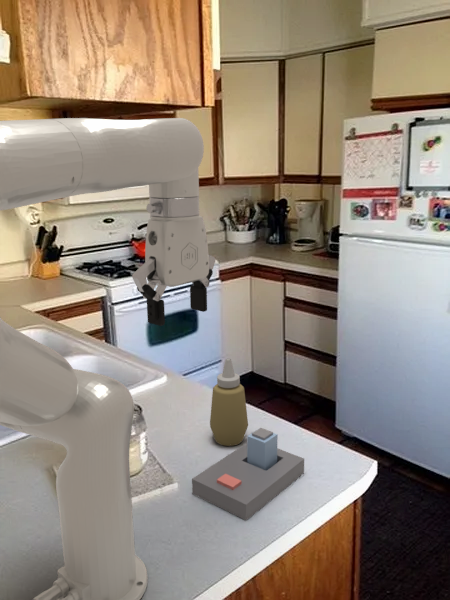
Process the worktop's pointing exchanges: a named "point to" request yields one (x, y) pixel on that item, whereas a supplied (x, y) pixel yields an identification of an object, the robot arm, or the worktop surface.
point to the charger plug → (262, 449)
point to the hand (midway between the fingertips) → (178, 316)
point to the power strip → (246, 482)
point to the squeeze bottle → (228, 408)
